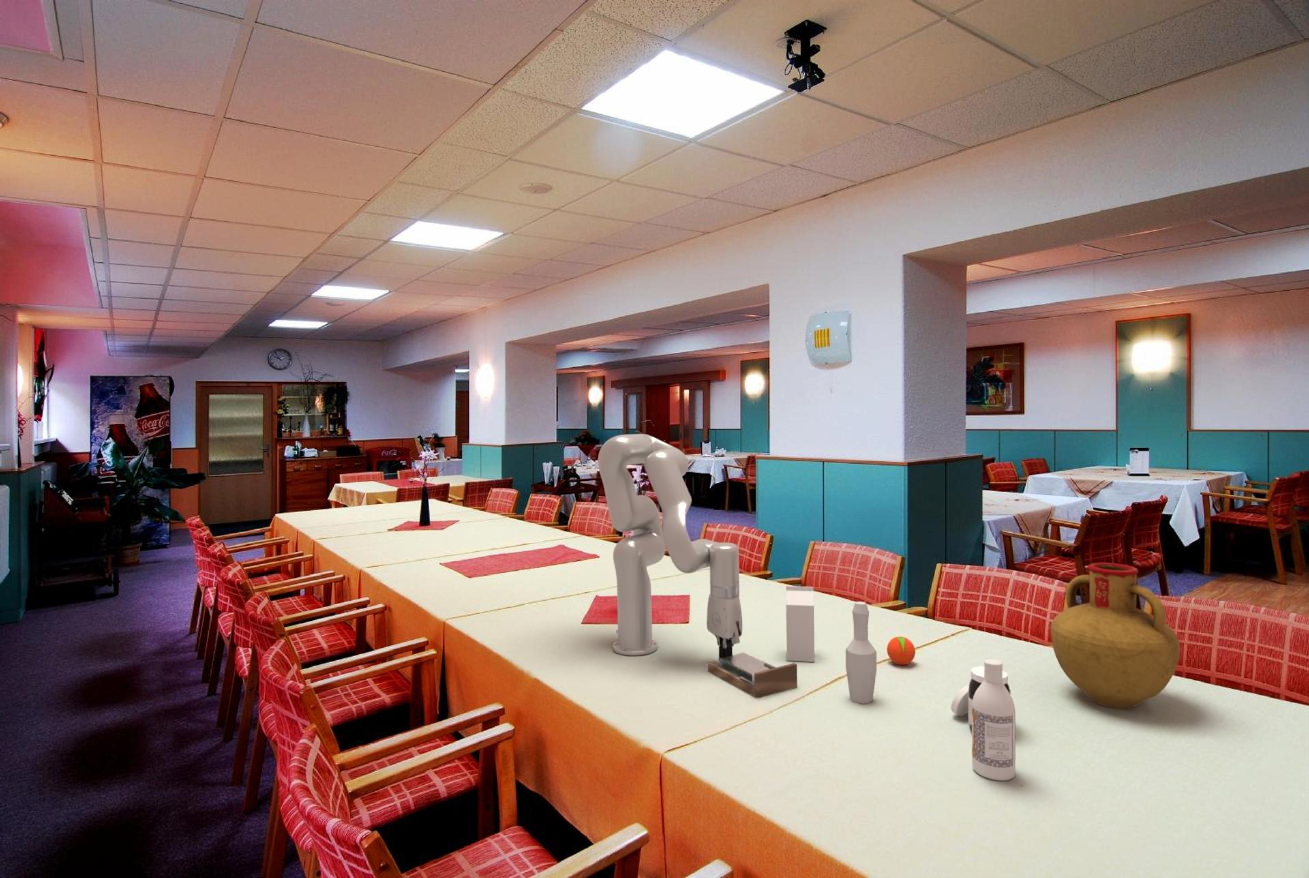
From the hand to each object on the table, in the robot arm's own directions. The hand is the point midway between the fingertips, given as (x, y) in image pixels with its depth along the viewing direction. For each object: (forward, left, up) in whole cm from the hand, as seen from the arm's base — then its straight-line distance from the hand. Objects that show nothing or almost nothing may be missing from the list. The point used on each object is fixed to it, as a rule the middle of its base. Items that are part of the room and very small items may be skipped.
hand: (725, 661), depth 178 cm
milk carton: (+6, +20, -1) cm, 21 cm away
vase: (+64, +59, -1) cm, 87 cm away
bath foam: (+69, +9, -1) cm, 69 cm away
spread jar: (+56, +24, -1) cm, 61 cm away
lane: (+10, 0, -1) cm, 10 cm away
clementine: (+24, +38, -1) cm, 45 cm away
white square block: (+13, +1, -1) cm, 13 cm away
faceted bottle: (+34, +13, -1) cm, 36 cm away
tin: (+6, +1, -2) cm, 6 cm away
